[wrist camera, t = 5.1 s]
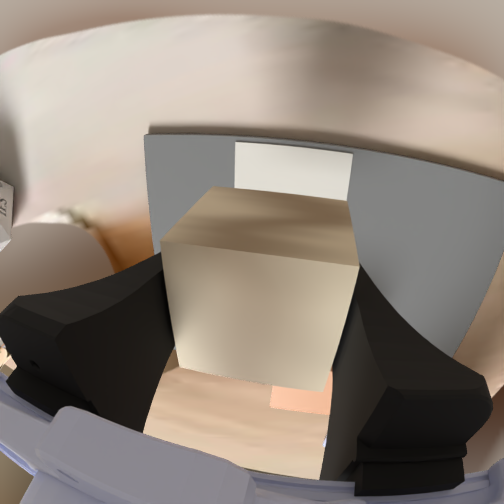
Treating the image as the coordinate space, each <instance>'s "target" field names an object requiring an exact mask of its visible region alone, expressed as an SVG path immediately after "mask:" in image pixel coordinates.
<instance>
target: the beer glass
mask: <svg viewBox="0 0 504 504" xmlns="http://www.w3.org/2000/svg"><path fill="white" fill-rule="evenodd" d="M10 358H11V355H10V354H9V352H8V350H7V348H6V347H5V345H4V343H3V341H2V339H1V337H0V369H1V368H2V366H3V365H4V364H5V363H6V361H8V360H9V359H10Z"/></svg>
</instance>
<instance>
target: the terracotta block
mask: <svg viewBox="0 0 504 504" xmlns="http://www.w3.org/2000/svg"><path fill="white" fill-rule="evenodd" d="M332 380H333V377H332V367H331V370H330V373H329V376H328V379H327V382H326V385H325V388H324V391H323V392H316V391H308V390H300V389H293V388H285V387H279V386H273V388H272V394H271V401H270V407H272V408H279V409H286V410H293V411H300V412H309V413H317V414H327V415H330V408H331V398H332Z"/></svg>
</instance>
